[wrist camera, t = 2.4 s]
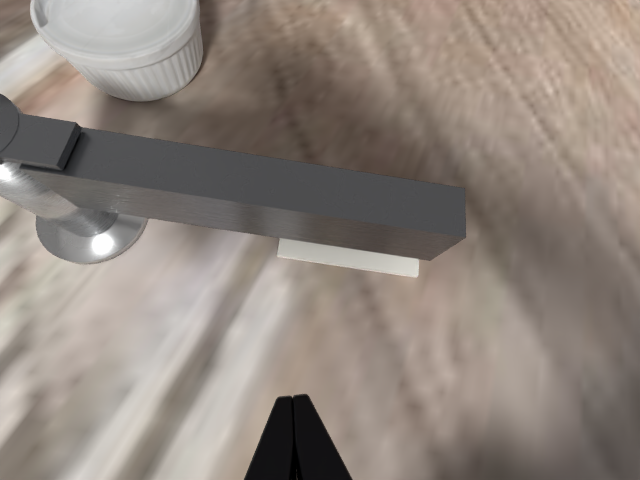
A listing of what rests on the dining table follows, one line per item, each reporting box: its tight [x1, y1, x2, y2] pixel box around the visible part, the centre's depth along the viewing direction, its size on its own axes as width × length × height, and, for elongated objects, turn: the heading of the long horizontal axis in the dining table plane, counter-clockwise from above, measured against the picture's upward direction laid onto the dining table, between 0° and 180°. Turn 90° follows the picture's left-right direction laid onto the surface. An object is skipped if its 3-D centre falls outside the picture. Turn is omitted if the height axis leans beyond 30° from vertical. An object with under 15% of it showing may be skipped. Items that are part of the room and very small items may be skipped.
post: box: [0, 162, 148, 264], centre depth 18 cm, size 7×7×9 cm
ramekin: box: [30, 0, 203, 101], centre depth 25 cm, size 11×11×5 cm
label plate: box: [277, 238, 419, 278], centre depth 24 cm, size 10×6×1 cm, turn 82°
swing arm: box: [0, 94, 466, 261], centre depth 16 cm, size 24×4×5 cm, turn 82°
